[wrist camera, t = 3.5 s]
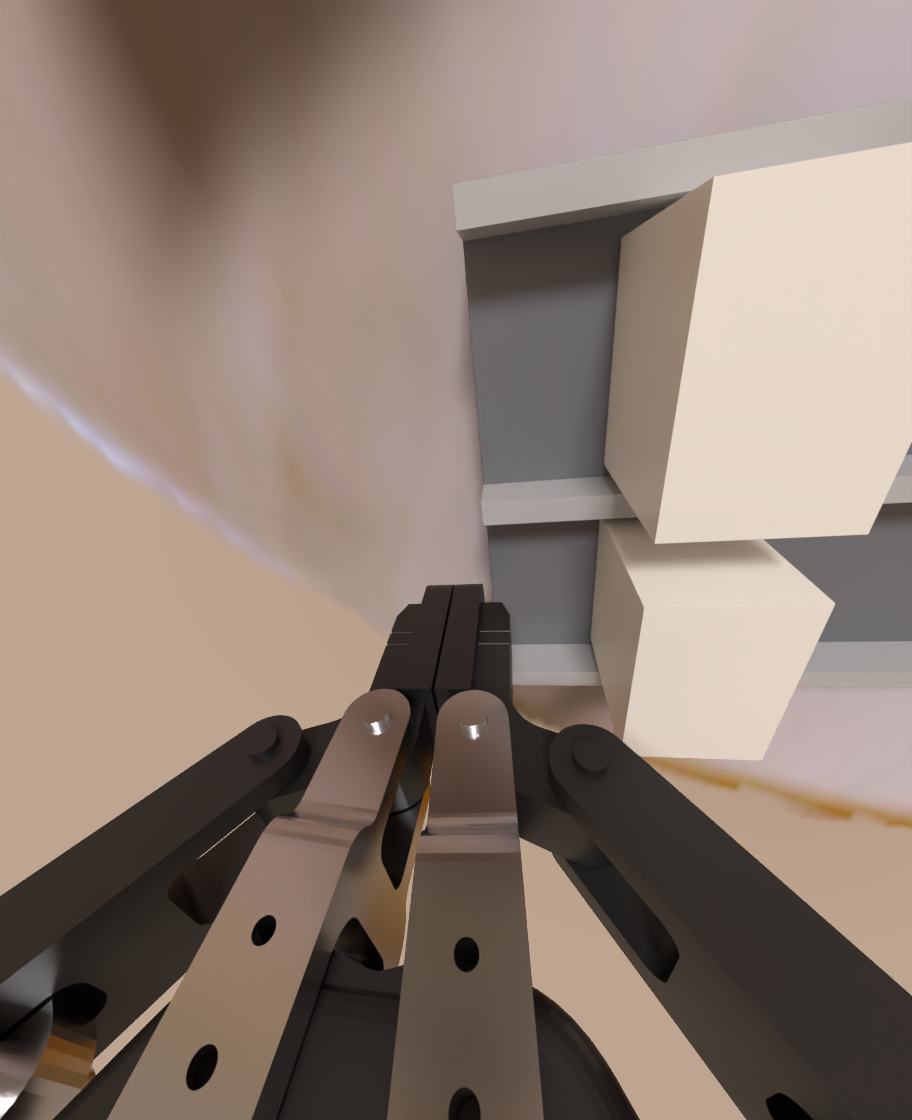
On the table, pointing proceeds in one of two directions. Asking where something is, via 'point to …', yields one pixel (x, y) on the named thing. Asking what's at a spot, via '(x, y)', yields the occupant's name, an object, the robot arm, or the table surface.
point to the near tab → (766, 352)
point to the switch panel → (584, 384)
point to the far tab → (699, 641)
